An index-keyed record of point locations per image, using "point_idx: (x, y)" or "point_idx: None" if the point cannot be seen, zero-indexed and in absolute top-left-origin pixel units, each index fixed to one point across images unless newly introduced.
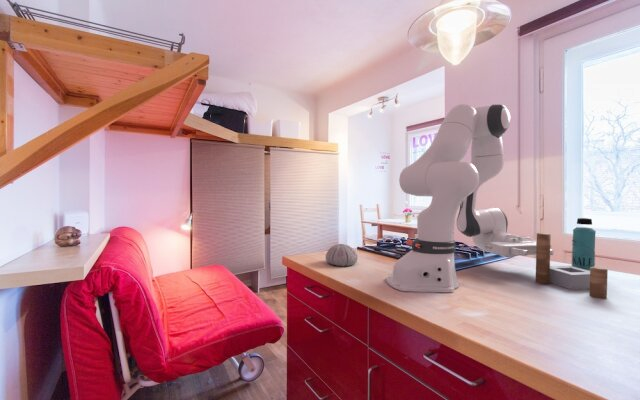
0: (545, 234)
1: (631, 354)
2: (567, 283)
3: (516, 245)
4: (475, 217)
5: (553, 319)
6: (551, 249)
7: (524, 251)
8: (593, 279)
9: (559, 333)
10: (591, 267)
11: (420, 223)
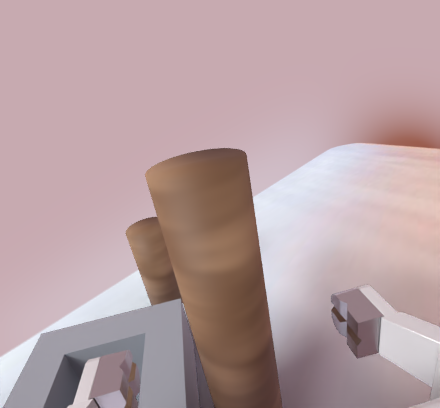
0: (205, 152)
1: (298, 169)
2: (190, 341)
3: (438, 398)
4: None
5: (347, 195)
6: (84, 369)
7: (357, 288)
8: None
9: (353, 176)
10: (156, 230)
11: None
